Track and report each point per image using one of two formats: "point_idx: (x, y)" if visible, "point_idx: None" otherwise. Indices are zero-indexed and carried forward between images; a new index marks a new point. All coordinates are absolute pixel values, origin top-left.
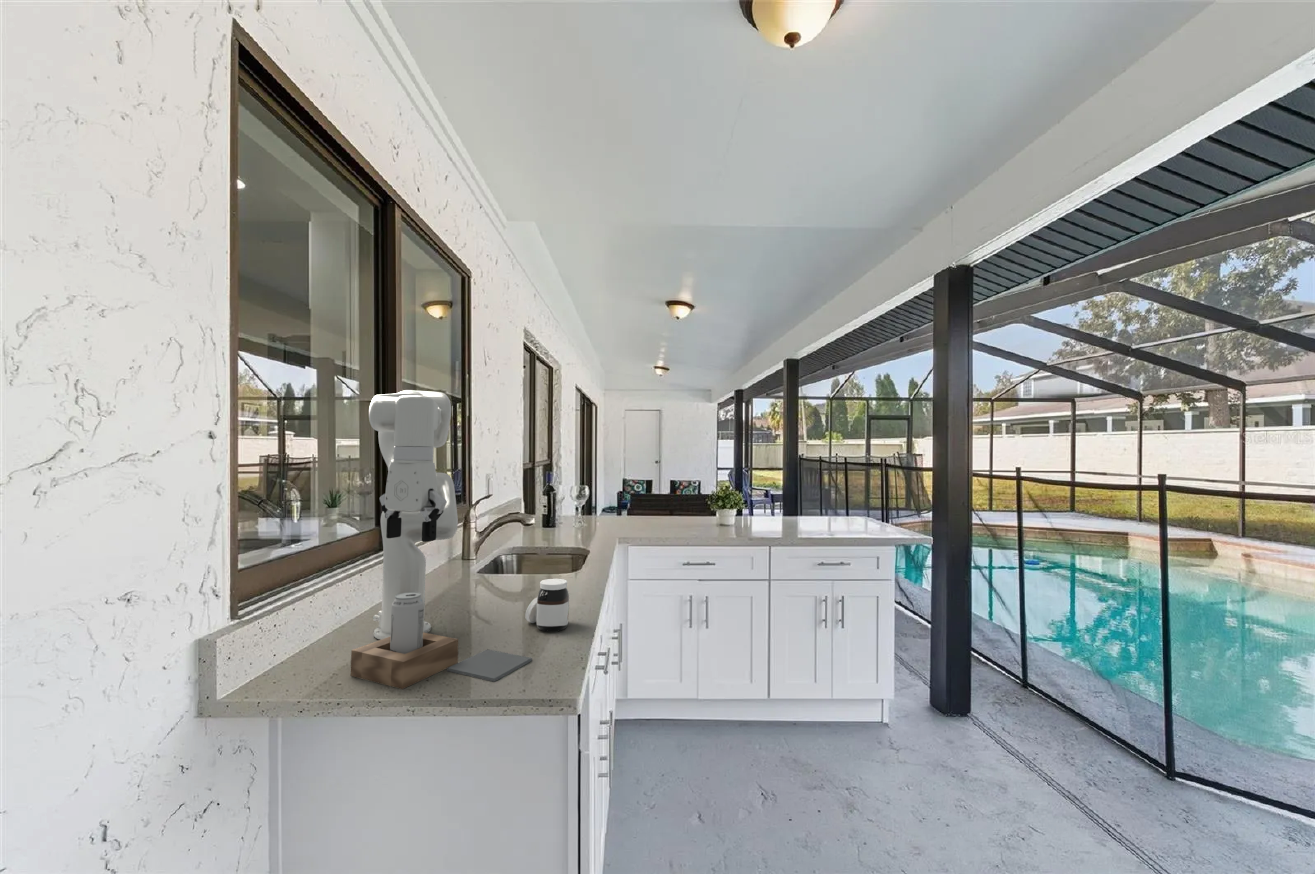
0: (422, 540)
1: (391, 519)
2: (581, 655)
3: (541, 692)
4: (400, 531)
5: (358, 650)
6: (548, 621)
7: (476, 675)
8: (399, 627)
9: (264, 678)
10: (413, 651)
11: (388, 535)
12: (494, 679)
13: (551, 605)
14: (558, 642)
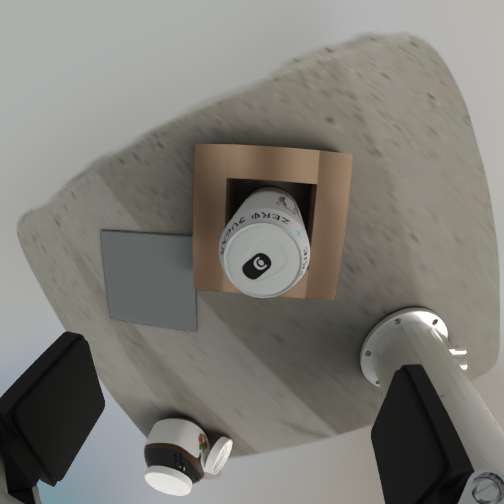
0: (72, 333)
1: (433, 483)
2: None
3: (40, 227)
4: (376, 452)
5: (337, 157)
6: (166, 423)
7: (132, 233)
8: (255, 200)
9: (457, 106)
10: (221, 196)
11: (410, 377)
12: (101, 231)
13: (155, 442)
14: (134, 385)
